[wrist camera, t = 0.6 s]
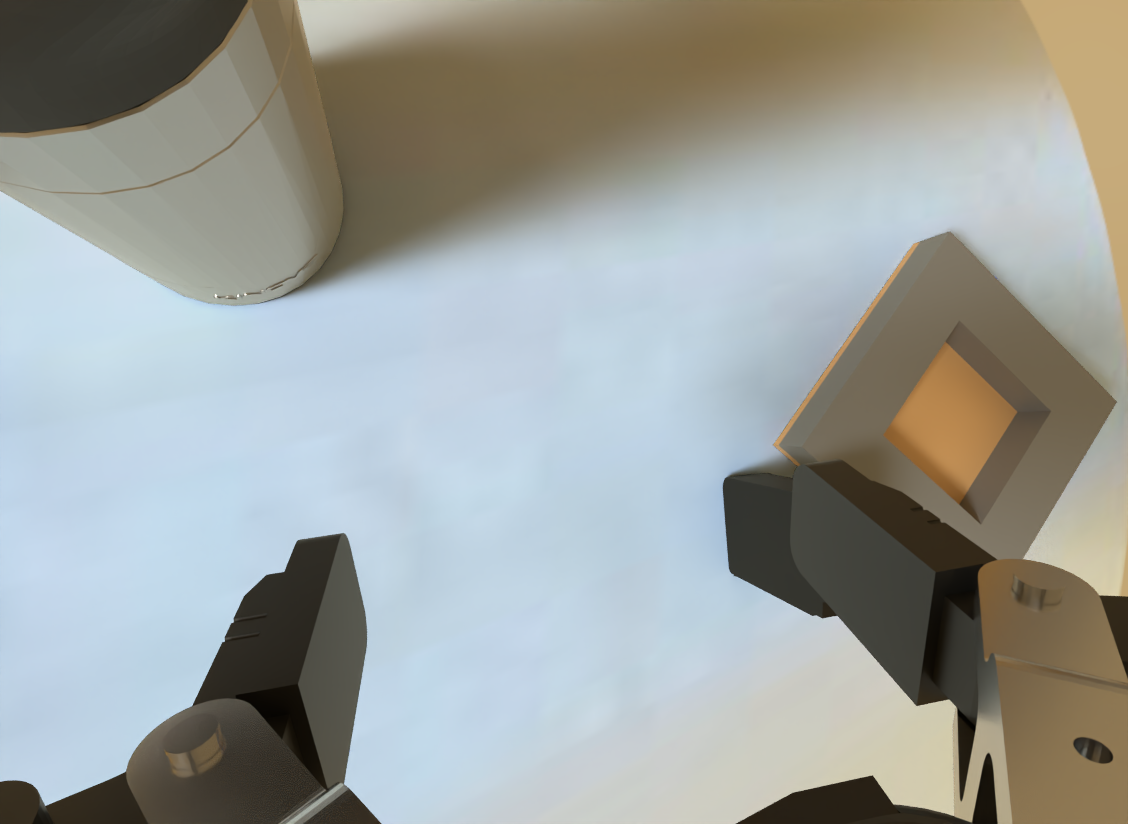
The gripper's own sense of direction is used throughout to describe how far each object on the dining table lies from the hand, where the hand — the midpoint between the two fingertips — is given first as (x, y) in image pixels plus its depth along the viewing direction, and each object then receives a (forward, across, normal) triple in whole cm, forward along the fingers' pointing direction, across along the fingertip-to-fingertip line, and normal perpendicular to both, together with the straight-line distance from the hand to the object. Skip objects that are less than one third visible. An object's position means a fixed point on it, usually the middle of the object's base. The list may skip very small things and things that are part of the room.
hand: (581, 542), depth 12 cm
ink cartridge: (+18, -11, +12) cm, 24 cm away
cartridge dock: (+20, -23, +9) cm, 32 cm away
